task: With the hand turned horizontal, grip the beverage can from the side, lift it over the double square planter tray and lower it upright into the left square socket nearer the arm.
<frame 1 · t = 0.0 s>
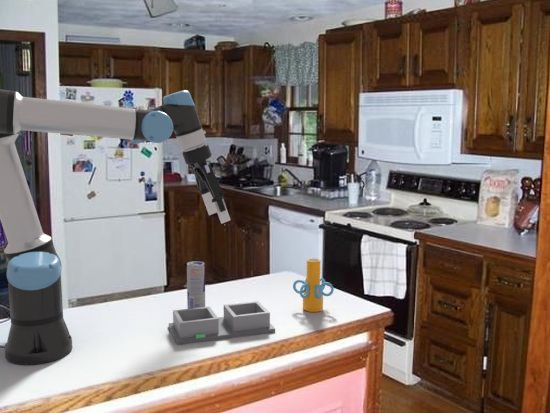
hand: (219, 217, 165), 28 cm above the kitchen island counter, tool tilted 20°, fingers open, 13 cm apart
beverage can: (196, 313, 168), on the kitchen island counter
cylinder: (312, 309, 172), on the kitchen island counter
double square planter tray: (221, 329, 155), on the kitchen island counter
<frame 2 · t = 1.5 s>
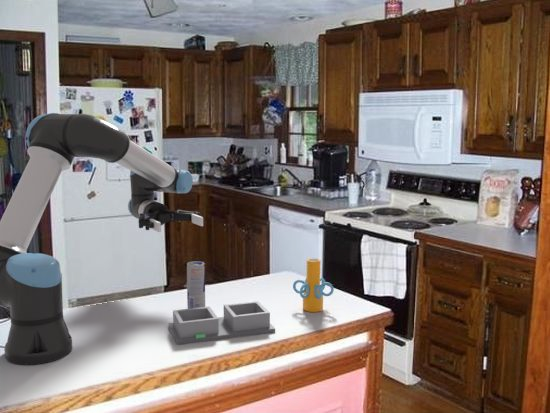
hand: (181, 224, 171), 25 cm above the kitchen island counter, tool horizontal, fingers open, 13 cm apart
nothing on the kitchen island counter moved.
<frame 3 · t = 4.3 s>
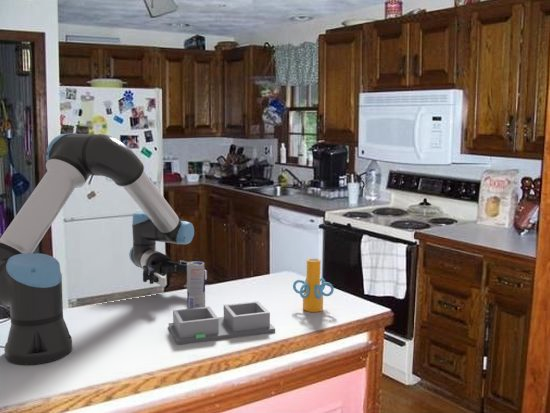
hand: (185, 278, 173), 8 cm above the kitchen island counter, tool horizontal, fingers open, 13 cm apart
nothing on the kitchen island counter moved.
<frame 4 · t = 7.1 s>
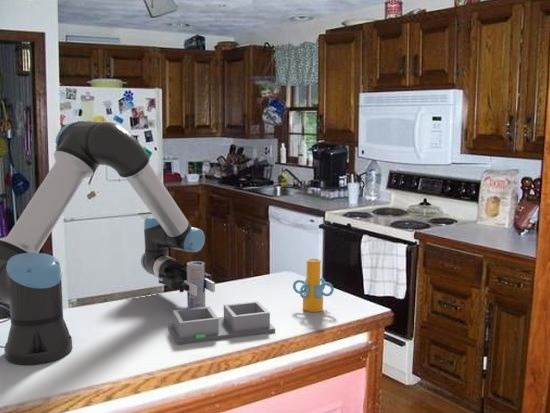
hand: (204, 289, 162), 9 cm above the kitchen island counter, tool horizontal, fingers closed on beverage can, 5 cm apart
beverage can: (196, 313, 168), on the kitchen island counter, touching gripper
everything else where it was.
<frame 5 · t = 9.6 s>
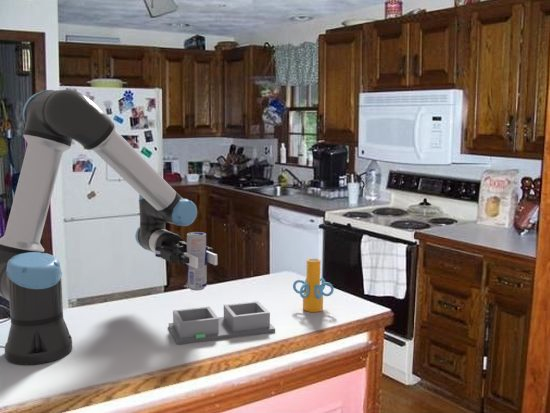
hand: (206, 261, 148), 20 cm above the kitchen island counter, tool horizontal, fingers closed on beverage can, 5 cm apart
beverage can: (197, 289, 154), point 11 cm above the kitchen island counter, touching gripper
everything else where it was.
when the fingers open (10 cm above the kitchen island counter, at t = 12.4 s): beverage can stays where it is, resting on double square planter tray.
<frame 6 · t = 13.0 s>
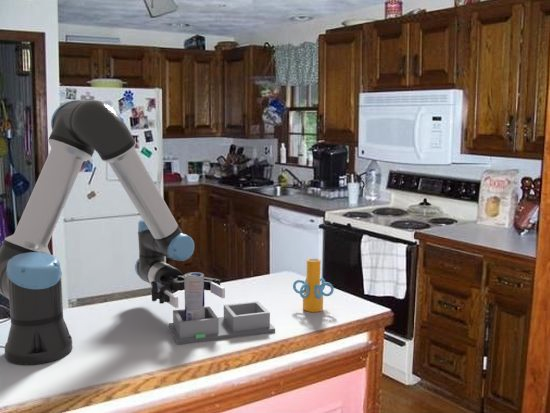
hand: (200, 297, 148), 10 cm above the kitchen island counter, tool horizontal, fingers open, 13 cm apart
beverage can: (195, 329, 153), point 1 cm above the kitchen island counter, touching double square planter tray
everything else where it was.
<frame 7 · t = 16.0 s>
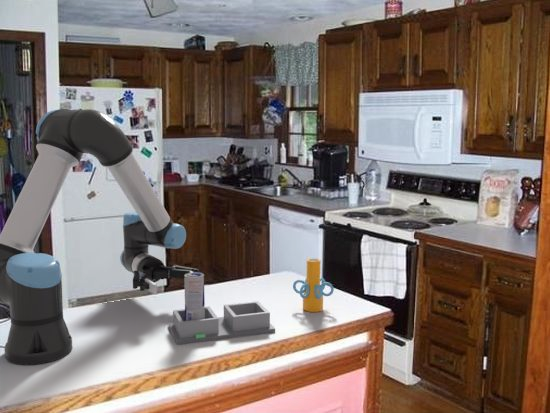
hand: (178, 285, 159), 11 cm above the kitchen island counter, tool horizontal, fingers open, 13 cm apart
nothing on the kitchen island counter moved.
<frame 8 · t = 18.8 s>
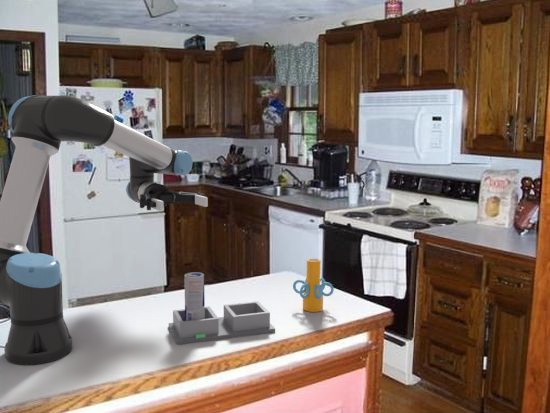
hand: (185, 204, 162), 32 cm above the kitchen island counter, tool horizontal, fingers open, 13 cm apart
nothing on the kitchen island counter moved.
at the end: beverage can 0.1 cm from the target spot, point 0.8 cm above the kitchen island counter; beverage can tilted 0°; the gripper is holding nothing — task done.
